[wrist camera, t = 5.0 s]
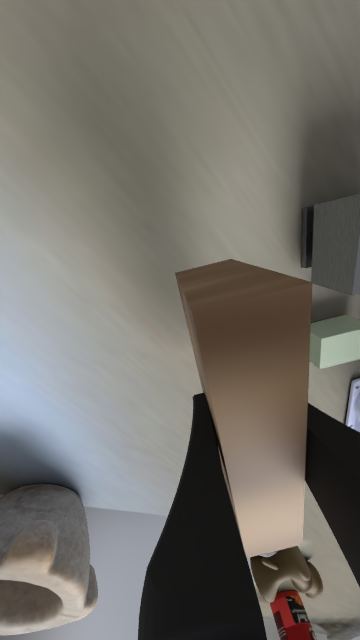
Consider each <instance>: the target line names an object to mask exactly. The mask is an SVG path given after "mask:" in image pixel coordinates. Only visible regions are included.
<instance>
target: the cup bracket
mask: <svg viewBox="0 0 360 640" xmlns="http://www.w3.org/2000/svg"><path fill="white" fill-rule="evenodd" d="M301 267H302V268H309V267H312V277H311V282H312V283H313V284H316V285H320V286H323V287H326V288H330V289H333V290H337V291H340V292H344V293H347V294H350V295H354V294H359V293H360V193H359V194H355V195H351V196H347V197H343V198H339V199H335V200H331V201H326V202H322V203H318V204H314V206H310V207H306V208H302V262H301Z"/></svg>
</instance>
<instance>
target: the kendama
mask: <svg viewBox="0 0 360 640" xmlns="http://www.w3.org/2000/svg"><path fill="white" fill-rule="evenodd" d="M250 561H251V569H252V573H253V577H254V580H255V582H256V585H257V587H258V589H259V591H260V593H261V595H262V596H263V598H264V599H265V600H266V601H267V602H269V603H271V602H274V599H275V596H276V593H277V590H278V587H279V586H280V584H281V583H283V582H284V581H286V580H288V579H291V581H292V583H293V585H294V587H295V588H296V589H297V590H298V591H299V592H301V593H305V594H306V596H307V597H309V598H312V599H316V598H319V597H320V596H321V595H322V592H323V584H322V580H321V577H320V575H319V573H318V571H317V569H316V568H315V567H314V566H313V565H312V564H311V563H310V562H308V561H305V559H304V557H303V555H302V553H301V551H300V549H299V548H298V546H294V547H290V548H286V549H282V550H279V551H278V552H277V553H276V554H274V555H273V556H271V557H263V556H259V555H257V556H253V557H251V558H250Z"/></svg>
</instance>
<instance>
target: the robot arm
mask: <svg viewBox="0 0 360 640" xmlns="http://www.w3.org/2000/svg"><path fill="white" fill-rule="evenodd" d="M305 481H306V483H307V484H308V486H309V488H310V490H311V492H312V494H313V496H314V498H315V499H316V501H317V503H318V505H319V507H320V509H321V511H322V513H323V515H324V517H325V518H326V520H327V522H328V524H329V526H330V528H331V530H332V532H333V534H334V536H335V538H336V540H337V542H338V544H339V546H340V548H341V550H342V552H343V554H344V556H345V558H346V560H347V562H348V564H349V566H350V568H351V570H352V572H353V574H354V576H355V578H356V580H357V583H358V585H359V587H360V378H358V379H355V380H353V381H352V384H351V391H350V397H349V404H348V411H347V418H346V425H345V424H343V423H341V422H339V421H337V420H336V419H334V418H332V417H330V416H329V415H327V414H325V413H324V412H322V411H320V410H319V409H317V408H315V407H314V406H312V405H311V404H309V403H308V409H307V435H306V462H305ZM138 640H267V637H266V632H265V627H264V622H263V617H262V613H261V609H260V605H259V601H258V598H257V594H256V590H255V587H254V583H253V579H252V576H251V572H250V569H249V565H248V561H247V558H246V554H245V551H244V547H243V543H242V540H241V536H240V533H239V529H238V525H237V522H236V518H235V514H234V511H233V507H232V504H231V500H230V496H229V493H228V489H227V485H226V482H225V478H224V474H223V470H222V465H221V459H220V454H219V449H218V444H217V439H216V435H215V430H214V426H213V422H212V417H211V413H210V409H209V405H208V402H207V398H206V395H205V393H201V394H197V395H194V396H193V420H192V428H191V435H190V441H189V446H188V451H187V456H186V460H185V464H184V468H183V472H182V475H181V479H180V482H179V485H178V489H177V492H176V495H175V498H174V501H173V504H172V507H171V509H170V512H169V515H168V518H167V521H166V523H165V526H164V528H163V531H162V534H161V536H160V538H159V541H158V543H157V546H156V548H155V550H154V553H153V555H152V557H151V560H150V562H149V565H148V567H147V571H146V576H145V581H144V586H143V592H142V598H141V606H140V614H139V629H138Z"/></svg>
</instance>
